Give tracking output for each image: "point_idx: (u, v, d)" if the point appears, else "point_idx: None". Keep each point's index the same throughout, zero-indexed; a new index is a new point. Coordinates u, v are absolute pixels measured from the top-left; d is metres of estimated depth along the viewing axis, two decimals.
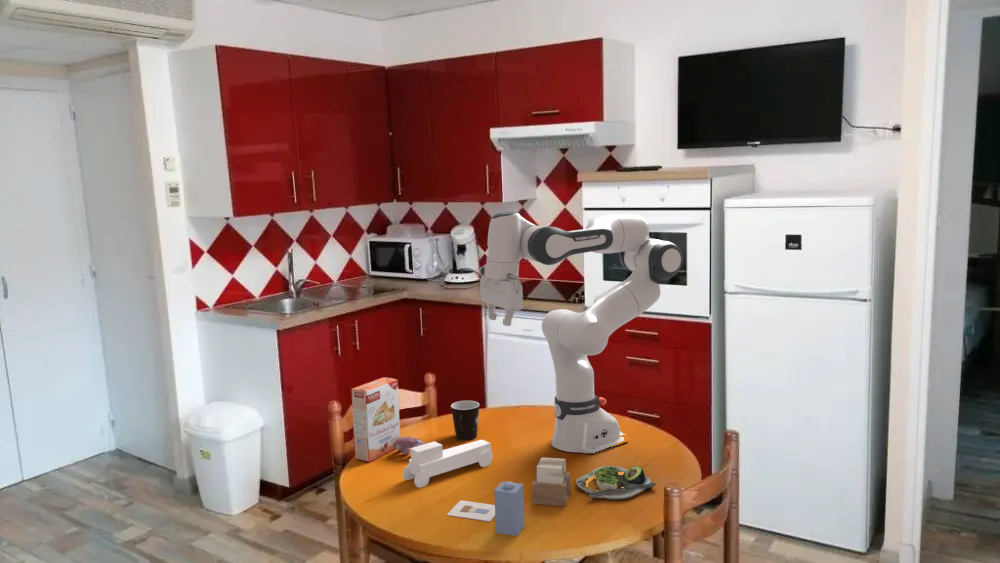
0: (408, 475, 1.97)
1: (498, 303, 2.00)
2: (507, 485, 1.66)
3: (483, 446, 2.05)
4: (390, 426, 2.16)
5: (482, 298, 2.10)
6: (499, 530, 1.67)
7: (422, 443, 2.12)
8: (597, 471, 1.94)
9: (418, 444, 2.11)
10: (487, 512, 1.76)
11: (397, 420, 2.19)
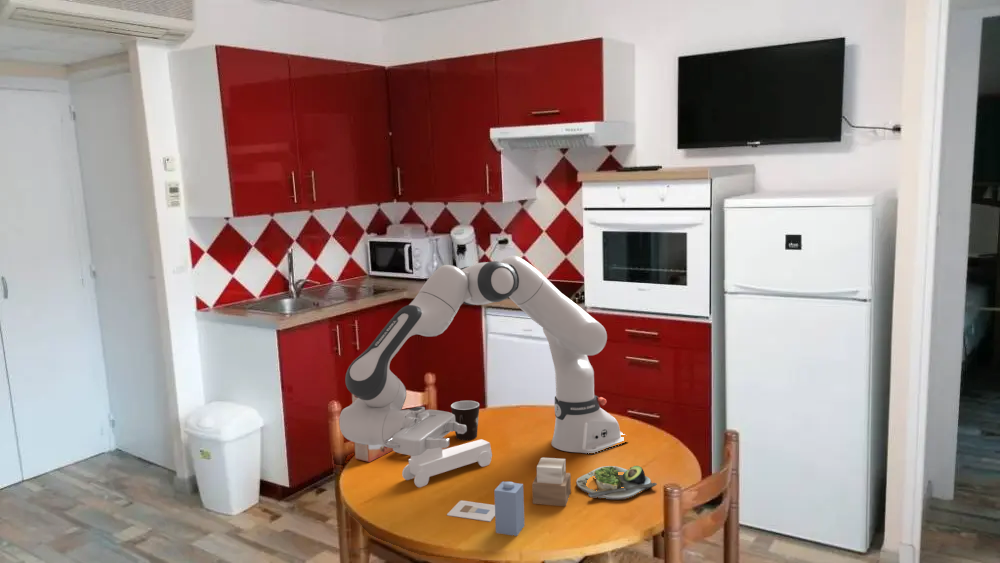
0: (408, 475, 1.97)
1: None
2: (507, 485, 1.66)
3: (483, 446, 2.05)
4: None
5: None
6: (499, 530, 1.67)
7: None
8: (597, 471, 1.94)
9: None
10: (487, 512, 1.76)
11: None
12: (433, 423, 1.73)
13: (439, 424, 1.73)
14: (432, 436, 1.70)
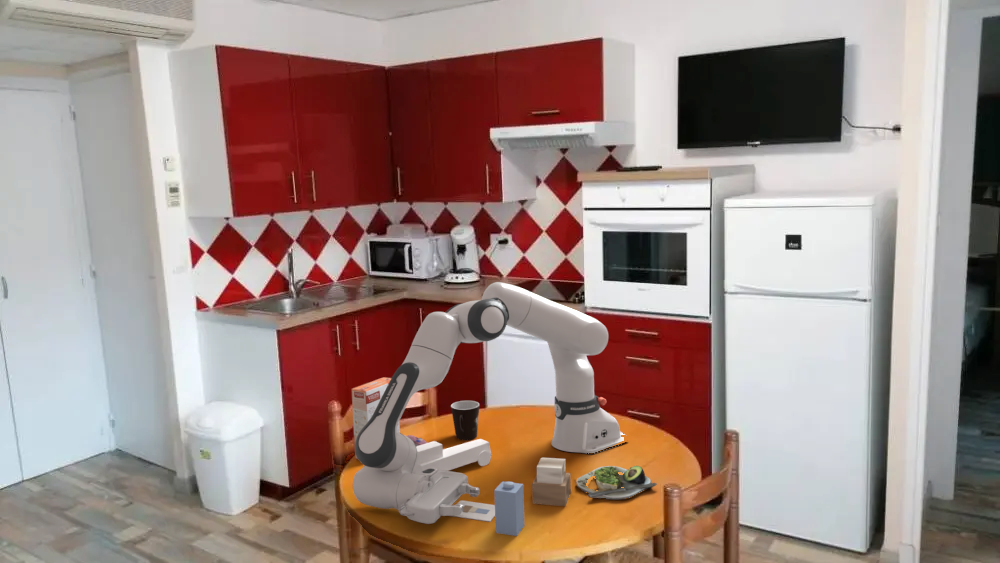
0: None
1: None
2: (507, 485, 1.66)
3: (482, 445, 2.06)
4: None
5: None
6: (499, 530, 1.67)
7: (423, 442, 2.13)
8: (597, 471, 1.94)
9: (420, 443, 2.12)
10: (487, 512, 1.76)
11: None
12: (446, 487, 1.75)
13: (452, 488, 1.74)
14: (446, 501, 1.72)
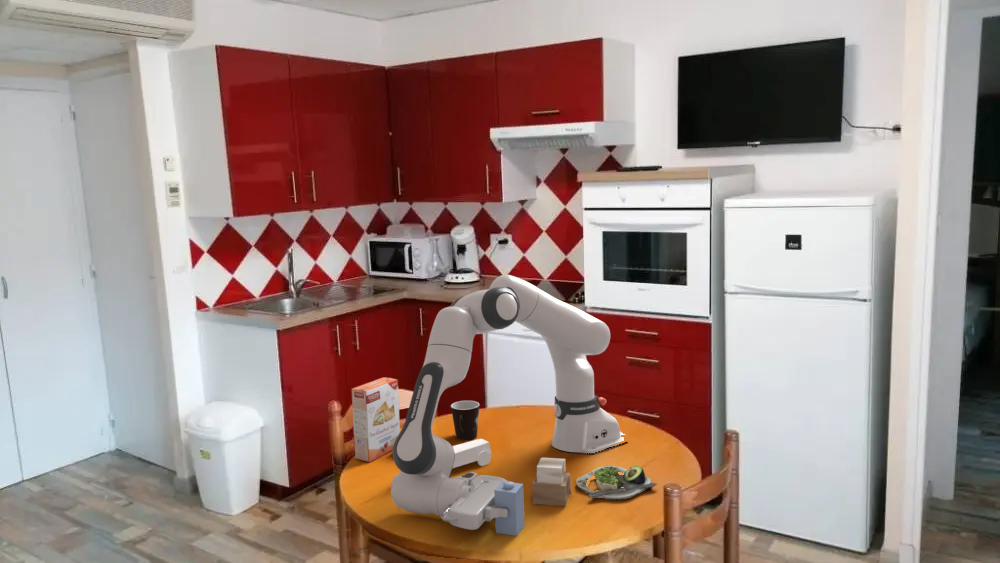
0: None
1: None
2: (507, 485, 1.66)
3: (482, 445, 2.06)
4: (390, 426, 2.16)
5: None
6: (499, 530, 1.67)
7: None
8: (597, 471, 1.94)
9: None
10: None
11: (397, 420, 2.19)
12: (488, 492, 1.71)
13: None
14: None
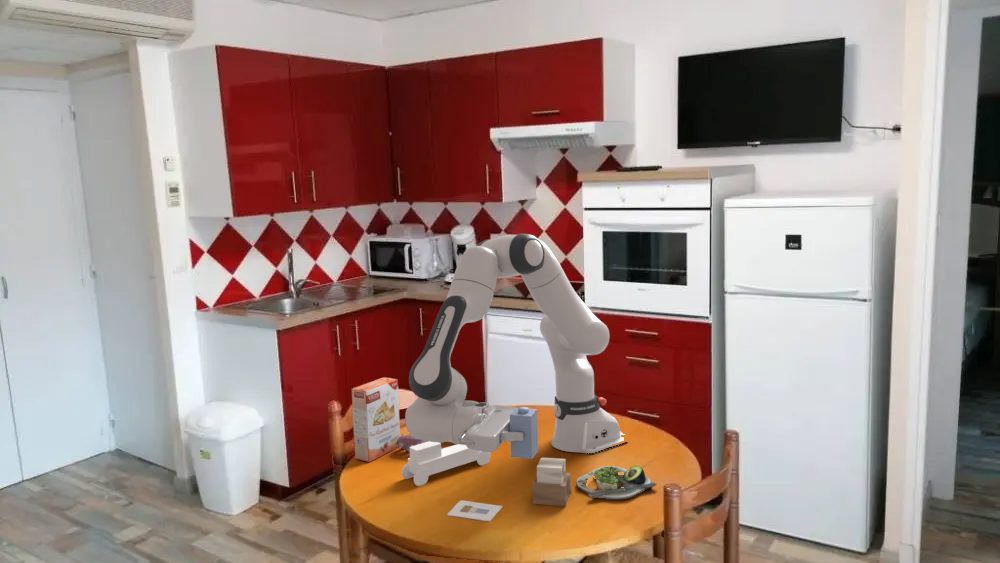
0: (407, 474, 1.98)
1: None
2: (522, 409, 1.69)
3: None
4: (390, 426, 2.16)
5: None
6: (514, 454, 1.70)
7: None
8: (597, 471, 1.94)
9: (421, 441, 2.13)
10: (487, 512, 1.76)
11: (397, 420, 2.19)
12: (502, 419, 1.74)
13: (508, 419, 1.73)
14: None
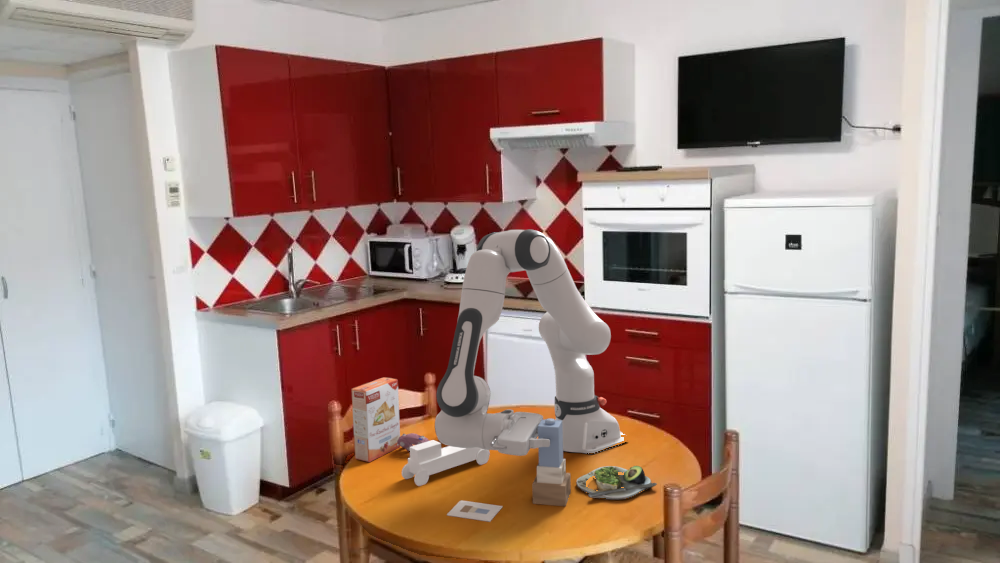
0: (407, 474, 1.98)
1: None
2: (549, 421, 1.80)
3: None
4: (390, 426, 2.16)
5: None
6: (542, 463, 1.80)
7: (426, 440, 2.14)
8: (597, 471, 1.94)
9: (422, 441, 2.13)
10: (487, 512, 1.76)
11: (397, 420, 2.19)
12: (528, 424, 1.84)
13: (534, 425, 1.84)
14: (530, 437, 1.81)
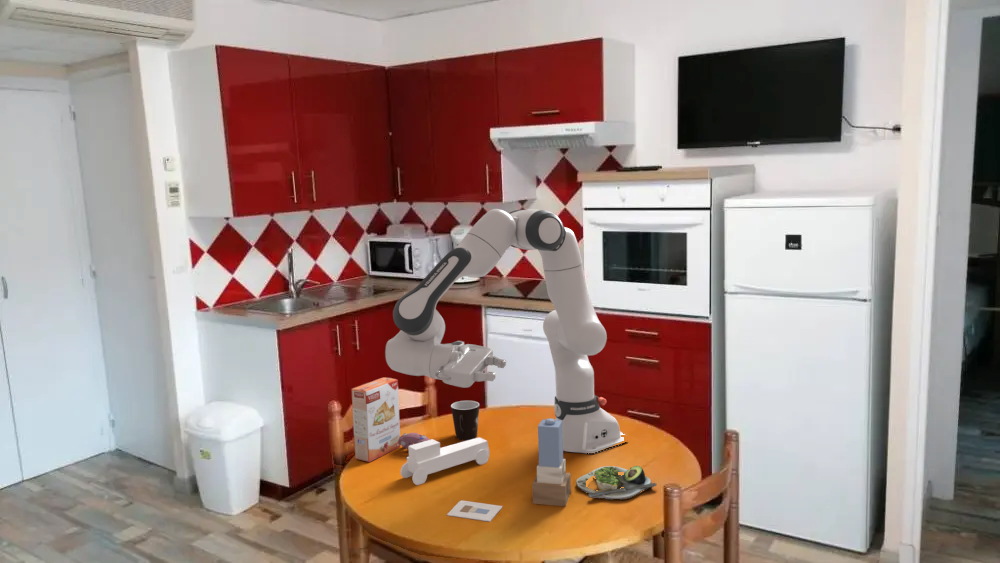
0: (406, 473, 1.99)
1: None
2: (549, 421, 1.80)
3: (480, 444, 2.07)
4: (390, 426, 2.16)
5: None
6: (542, 463, 1.80)
7: (427, 439, 2.15)
8: (597, 471, 1.94)
9: (423, 440, 2.14)
10: (487, 512, 1.76)
11: (397, 420, 2.19)
12: (476, 358, 1.86)
13: (482, 358, 1.86)
14: (477, 370, 1.84)
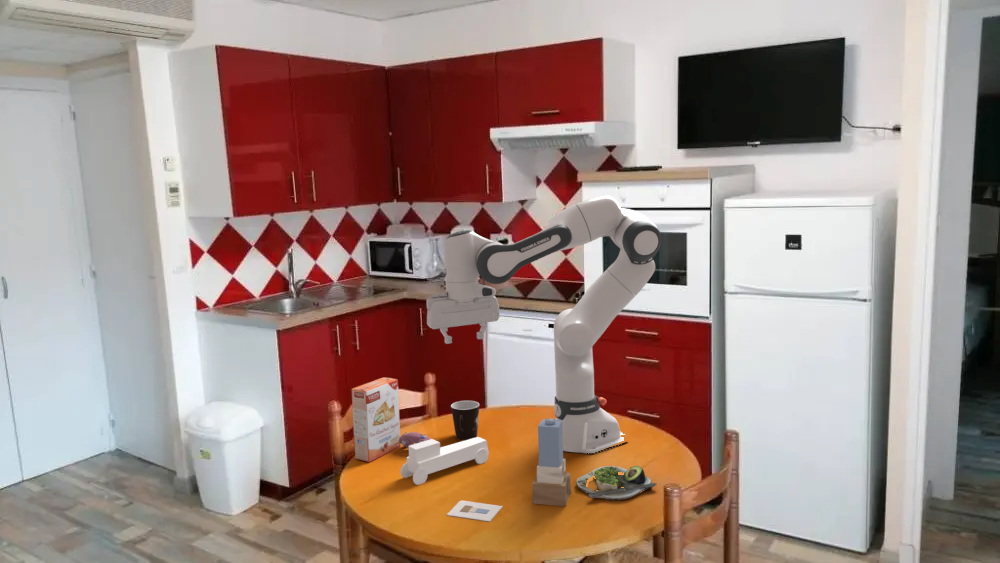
0: (406, 473, 1.99)
1: None
2: (549, 421, 1.80)
3: (479, 443, 2.07)
4: (390, 426, 2.16)
5: None
6: (542, 463, 1.80)
7: (428, 438, 2.15)
8: (597, 471, 1.94)
9: (424, 439, 2.14)
10: (487, 512, 1.76)
11: (397, 420, 2.19)
12: (470, 317, 2.02)
13: (471, 323, 2.03)
14: None
